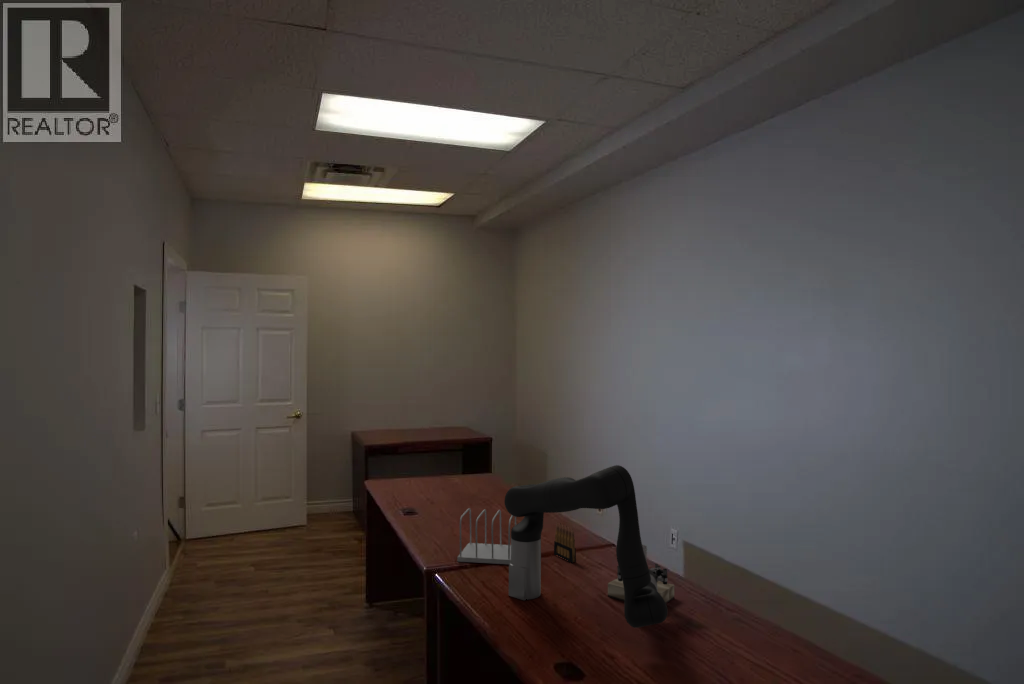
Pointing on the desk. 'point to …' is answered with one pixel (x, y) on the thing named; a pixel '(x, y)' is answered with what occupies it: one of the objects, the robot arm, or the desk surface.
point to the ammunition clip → (565, 543)
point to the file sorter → (486, 545)
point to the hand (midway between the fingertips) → (641, 566)
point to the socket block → (618, 590)
